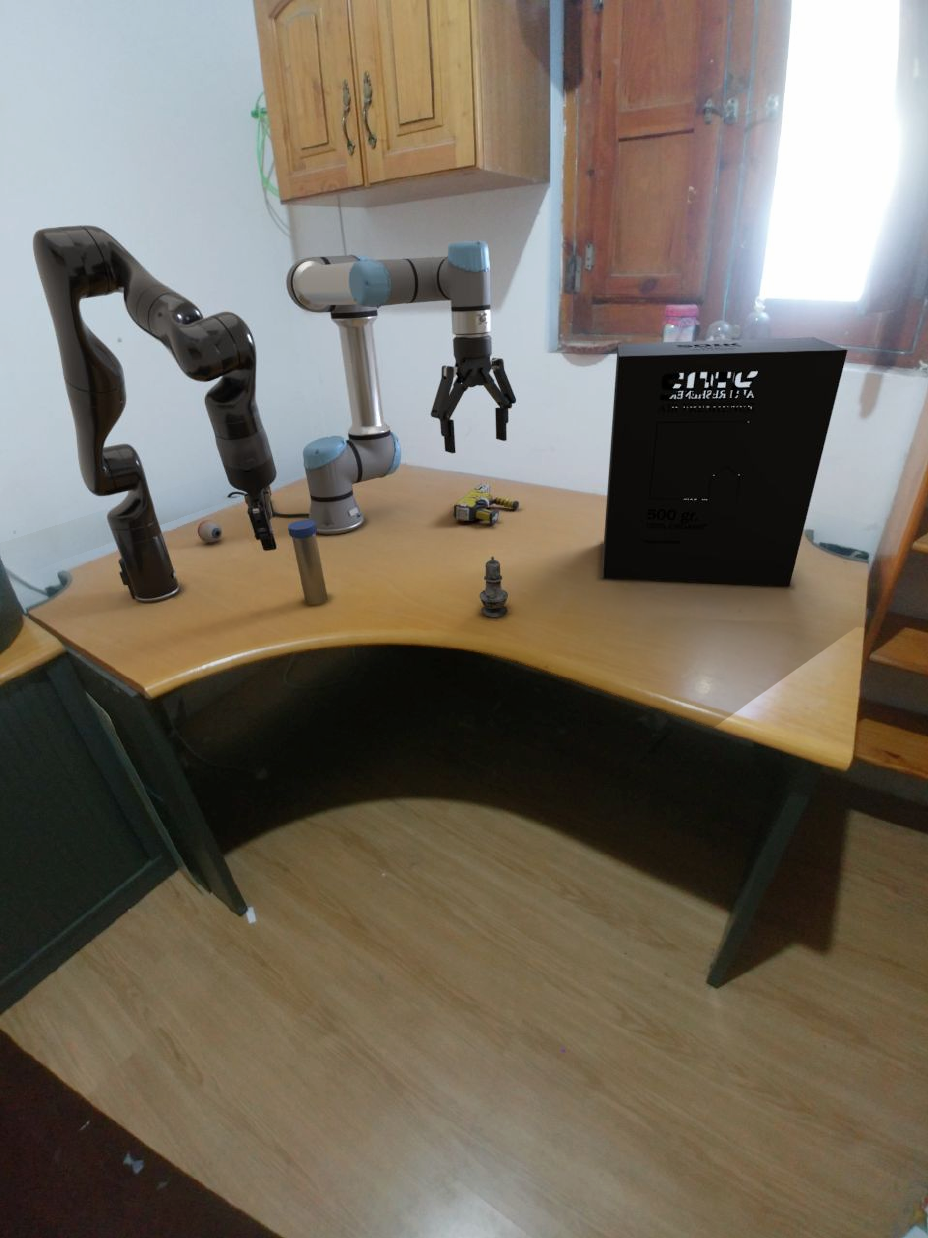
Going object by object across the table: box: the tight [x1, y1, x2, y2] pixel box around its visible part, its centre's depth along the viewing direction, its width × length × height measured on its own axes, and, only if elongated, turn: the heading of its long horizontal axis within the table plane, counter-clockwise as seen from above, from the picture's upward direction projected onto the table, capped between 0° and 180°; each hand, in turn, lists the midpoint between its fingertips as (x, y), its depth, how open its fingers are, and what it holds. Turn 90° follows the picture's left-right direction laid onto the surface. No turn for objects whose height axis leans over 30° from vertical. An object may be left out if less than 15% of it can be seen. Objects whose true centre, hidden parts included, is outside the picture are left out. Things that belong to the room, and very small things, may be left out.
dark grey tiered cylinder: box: [478, 555, 509, 618], centre depth 119 cm, size 6×6×12 cm
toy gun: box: [452, 482, 520, 526], centre depth 172 cm, size 5×24×15 cm
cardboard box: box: [602, 336, 849, 588], centre depth 126 cm, size 38×20×45 cm, turn 78°
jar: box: [291, 533, 329, 606], centre depth 126 cm, size 5×5×17 cm
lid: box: [287, 519, 317, 538], centre depth 122 cm, size 6×6×2 cm
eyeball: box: [197, 519, 223, 544], centre depth 161 cm, size 6×6×6 cm
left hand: (269, 532), depth 105 cm, fingers open, 8 cm apart
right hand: (476, 445), depth 127 cm, fingers open, 13 cm apart
